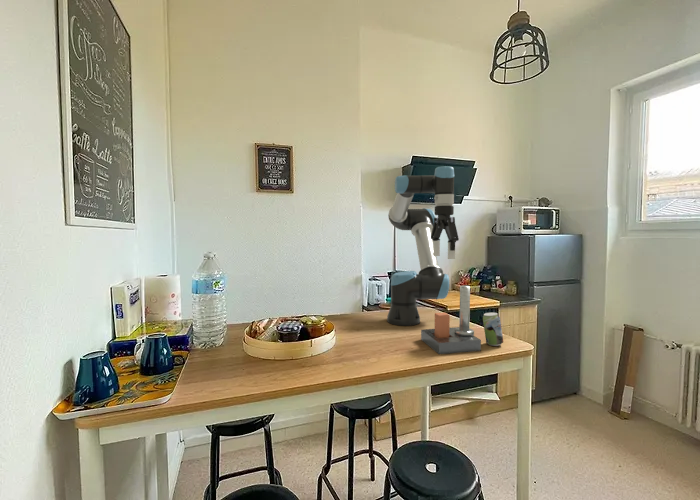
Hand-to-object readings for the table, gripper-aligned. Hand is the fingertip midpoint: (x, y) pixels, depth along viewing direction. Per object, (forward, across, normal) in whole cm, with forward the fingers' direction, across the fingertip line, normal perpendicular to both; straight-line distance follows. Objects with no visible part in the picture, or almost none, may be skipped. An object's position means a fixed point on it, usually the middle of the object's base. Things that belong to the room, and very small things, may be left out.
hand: (443, 257), depth 143 cm
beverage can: (+32, +17, +12) cm, 38 cm away
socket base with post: (+32, +14, -4) cm, 35 cm away
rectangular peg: (+32, +14, -7) cm, 35 cm away
